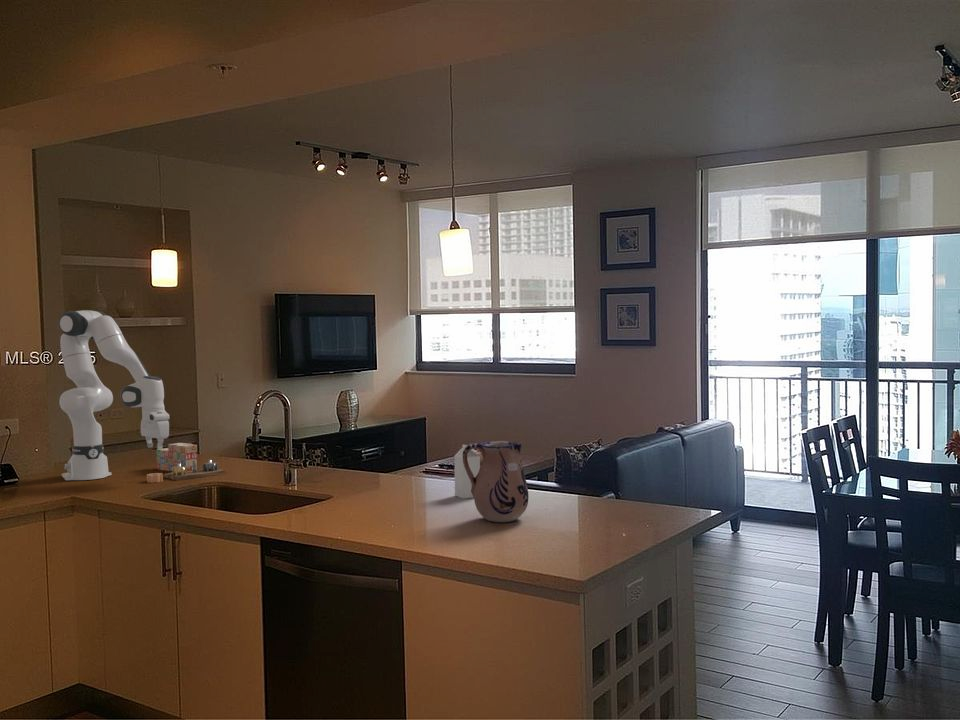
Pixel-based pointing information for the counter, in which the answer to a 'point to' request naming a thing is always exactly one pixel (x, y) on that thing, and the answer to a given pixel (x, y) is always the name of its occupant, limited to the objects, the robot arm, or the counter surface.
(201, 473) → the gear board
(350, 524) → the counter surface
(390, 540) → the counter surface
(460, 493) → the milk carton
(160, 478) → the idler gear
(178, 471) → the drive gears
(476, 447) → the ceramic pitcher
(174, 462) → the stack of blocks
